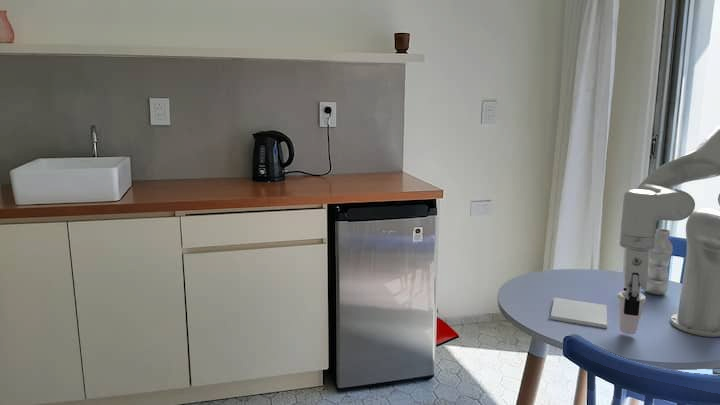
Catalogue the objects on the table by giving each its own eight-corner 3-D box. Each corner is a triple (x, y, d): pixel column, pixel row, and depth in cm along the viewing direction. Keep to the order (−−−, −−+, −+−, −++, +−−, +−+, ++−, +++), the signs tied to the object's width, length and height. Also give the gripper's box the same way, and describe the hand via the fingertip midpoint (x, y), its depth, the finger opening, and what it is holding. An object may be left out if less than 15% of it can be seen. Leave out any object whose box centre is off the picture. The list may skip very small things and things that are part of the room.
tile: (605, 308, 152) (606, 305, 152) (606, 328, 139) (607, 324, 139) (553, 300, 157) (554, 297, 157) (550, 319, 145) (550, 315, 144)
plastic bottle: (669, 292, 164) (678, 230, 159) (663, 299, 159) (672, 234, 155) (646, 287, 168) (654, 226, 164) (640, 293, 163) (648, 230, 159)
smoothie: (645, 337, 131) (651, 284, 128) (617, 335, 132) (622, 282, 129) (637, 326, 137) (643, 274, 134) (611, 324, 139) (615, 273, 135)
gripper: (658, 252, 120) (650, 325, 124) (651, 232, 136) (644, 298, 140) (621, 248, 123) (614, 320, 127) (618, 229, 139) (612, 294, 143)
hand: (630, 308), depth 134 cm, fingers closed on smoothie, 6 cm apart
